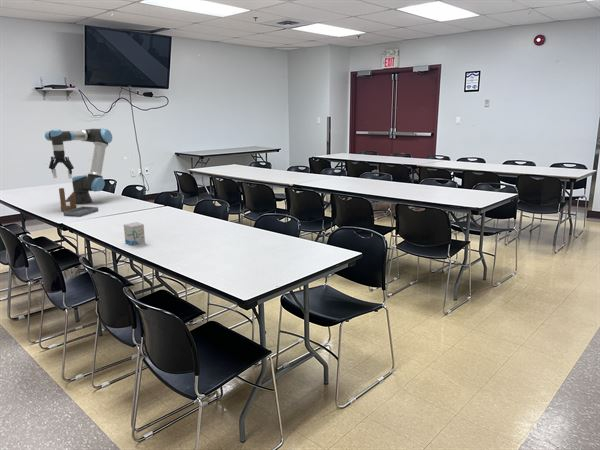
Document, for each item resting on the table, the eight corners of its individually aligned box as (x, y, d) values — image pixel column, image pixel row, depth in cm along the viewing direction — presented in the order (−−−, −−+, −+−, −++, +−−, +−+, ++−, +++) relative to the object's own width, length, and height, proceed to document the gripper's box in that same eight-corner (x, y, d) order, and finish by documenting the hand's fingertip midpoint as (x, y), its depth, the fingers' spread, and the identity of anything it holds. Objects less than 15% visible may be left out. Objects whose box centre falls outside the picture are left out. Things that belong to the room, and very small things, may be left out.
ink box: (132, 245, 268) (130, 226, 265) (124, 243, 273) (123, 224, 270) (145, 242, 274) (144, 223, 271) (138, 240, 279) (136, 221, 276)
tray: (82, 210, 363) (82, 206, 363) (98, 210, 360) (98, 207, 360) (64, 215, 344) (63, 211, 343) (80, 216, 340) (79, 212, 340)
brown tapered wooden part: (76, 209, 364) (74, 187, 360) (62, 211, 357) (59, 188, 353) (75, 209, 367) (72, 186, 363) (60, 211, 360) (57, 188, 356)
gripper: (40, 150, 347) (45, 178, 352) (69, 151, 341) (73, 179, 347) (48, 149, 354) (52, 176, 359) (76, 150, 348) (80, 177, 354)
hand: (62, 178), depth 353 cm, fingers open, 13 cm apart
